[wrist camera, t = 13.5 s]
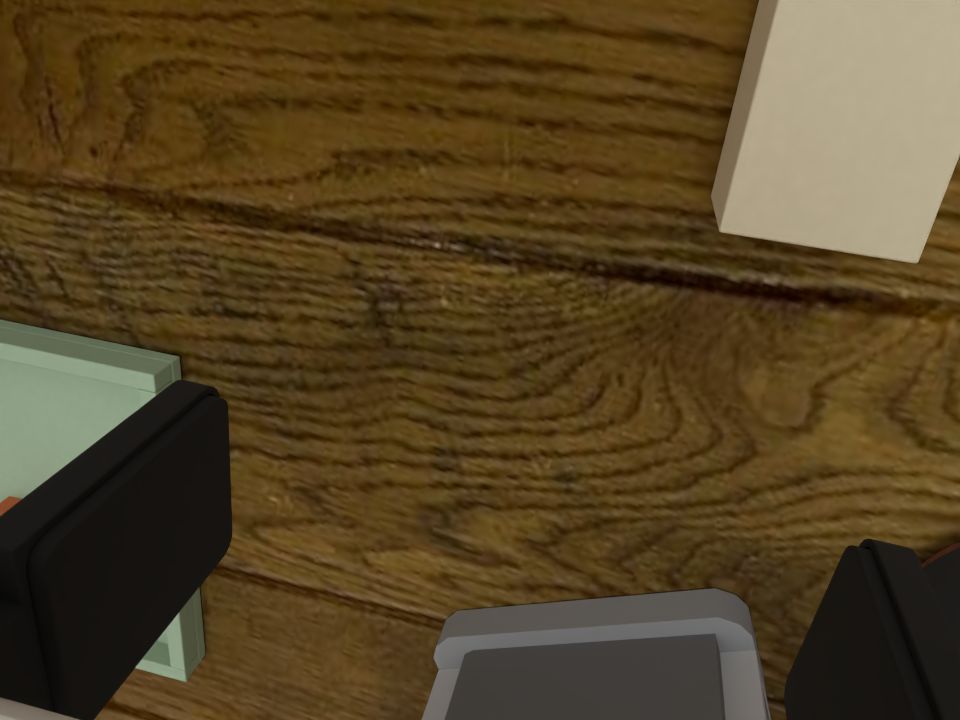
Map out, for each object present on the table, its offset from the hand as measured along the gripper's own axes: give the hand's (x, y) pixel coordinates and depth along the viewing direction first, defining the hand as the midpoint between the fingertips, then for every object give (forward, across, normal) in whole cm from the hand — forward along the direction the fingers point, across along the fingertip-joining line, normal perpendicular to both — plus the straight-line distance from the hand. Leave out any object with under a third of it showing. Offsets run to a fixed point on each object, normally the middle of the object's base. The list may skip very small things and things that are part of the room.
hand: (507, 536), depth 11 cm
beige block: (+15, -6, -5) cm, 17 cm away
